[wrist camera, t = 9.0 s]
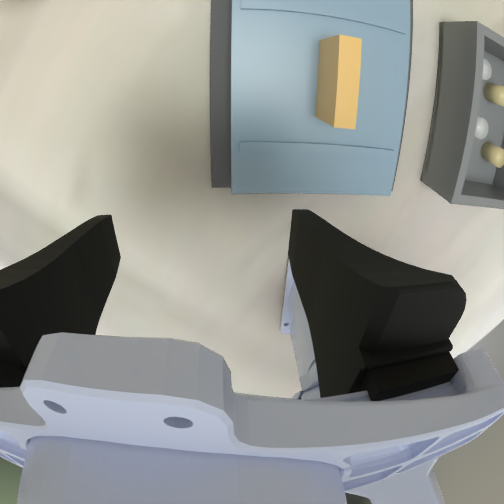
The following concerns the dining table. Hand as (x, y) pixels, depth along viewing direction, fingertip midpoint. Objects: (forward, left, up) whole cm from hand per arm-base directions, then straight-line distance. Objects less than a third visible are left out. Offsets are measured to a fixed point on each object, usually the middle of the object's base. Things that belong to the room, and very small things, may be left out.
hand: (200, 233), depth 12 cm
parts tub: (+6, -22, -10) cm, 25 cm away
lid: (+6, -7, -10) cm, 14 cm away
